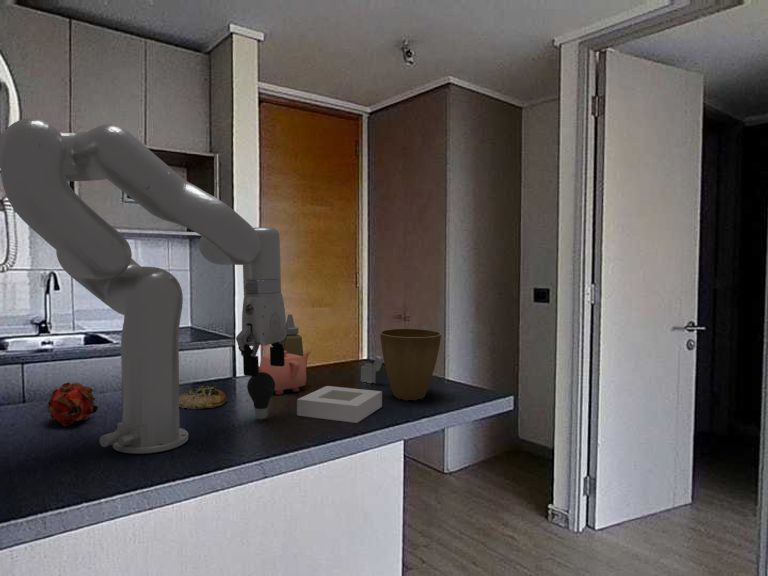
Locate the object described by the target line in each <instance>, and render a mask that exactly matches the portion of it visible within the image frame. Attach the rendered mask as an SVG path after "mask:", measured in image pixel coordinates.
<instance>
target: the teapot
mask: <svg viewBox="0 0 768 576" xmlns="http://www.w3.org/2000/svg"><path fill="white" fill-rule="evenodd" d="M312 352H313V350H307V351H305V352H303V357H302V356H299V355H294V354H289V353H287V351H284V363H285V365H284V366H271V364H270V354H269V355H263V356H261V359H260V363H259V372H265V373H267V374H269V375H270V376H271V377H272V378H273V379H274V382H275V390H274V395H284V390H290V389H291V391H292V392H300V391H301V390H300V387H304V386H305V385H306V383H307V366H308V359H309V356H310V354H311V353H312Z"/></svg>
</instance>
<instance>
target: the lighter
mask: <svg viewBox="0 0 768 576" xmlns="http://www.w3.org/2000/svg"><path fill="white" fill-rule="evenodd" d="M383 363H384V358H383V355H381V354H380V355H376V357H375V359H374V363H373V364H372V363H364V366H363V365H362V366H360V382H361V381H362V382H367V383H375V384H376V375H377V374H376V373H377V372H379V371H380V370H381V367H382V365H383Z"/></svg>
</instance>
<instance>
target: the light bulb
mask: <svg viewBox="0 0 768 576" xmlns="http://www.w3.org/2000/svg"><path fill="white" fill-rule="evenodd" d="M246 389H247V392H248V396H250V399H251V400H252V402H253V407H254V411H255V412H254V415H255V416H254V417H255V418H256V419H258V421H261V422H262V421H264V419H266V418H267V417H268V408H269V404H270V400H271V398H272V396H273V395H274V394H275V391H276V390H275V382H274V379H273V378H272V377H271V376H270V375H269V374H267V373H265V372H259V375H258V376H250V377H249V379H248V381H247V387H246Z"/></svg>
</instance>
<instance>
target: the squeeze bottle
mask: <svg viewBox="0 0 768 576" xmlns="http://www.w3.org/2000/svg"><path fill="white" fill-rule="evenodd" d="M293 317H294V316H293V314H287V317H286V324H287V325H288V329H287V337H286V340H285V347H283V348H284V351H287V353H289V354H294V355H299V356H302V357H303V355H304V349H303V348H304V347H303V337H302V336H301V335H299V327H297V326H295V322H294V318H293Z"/></svg>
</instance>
